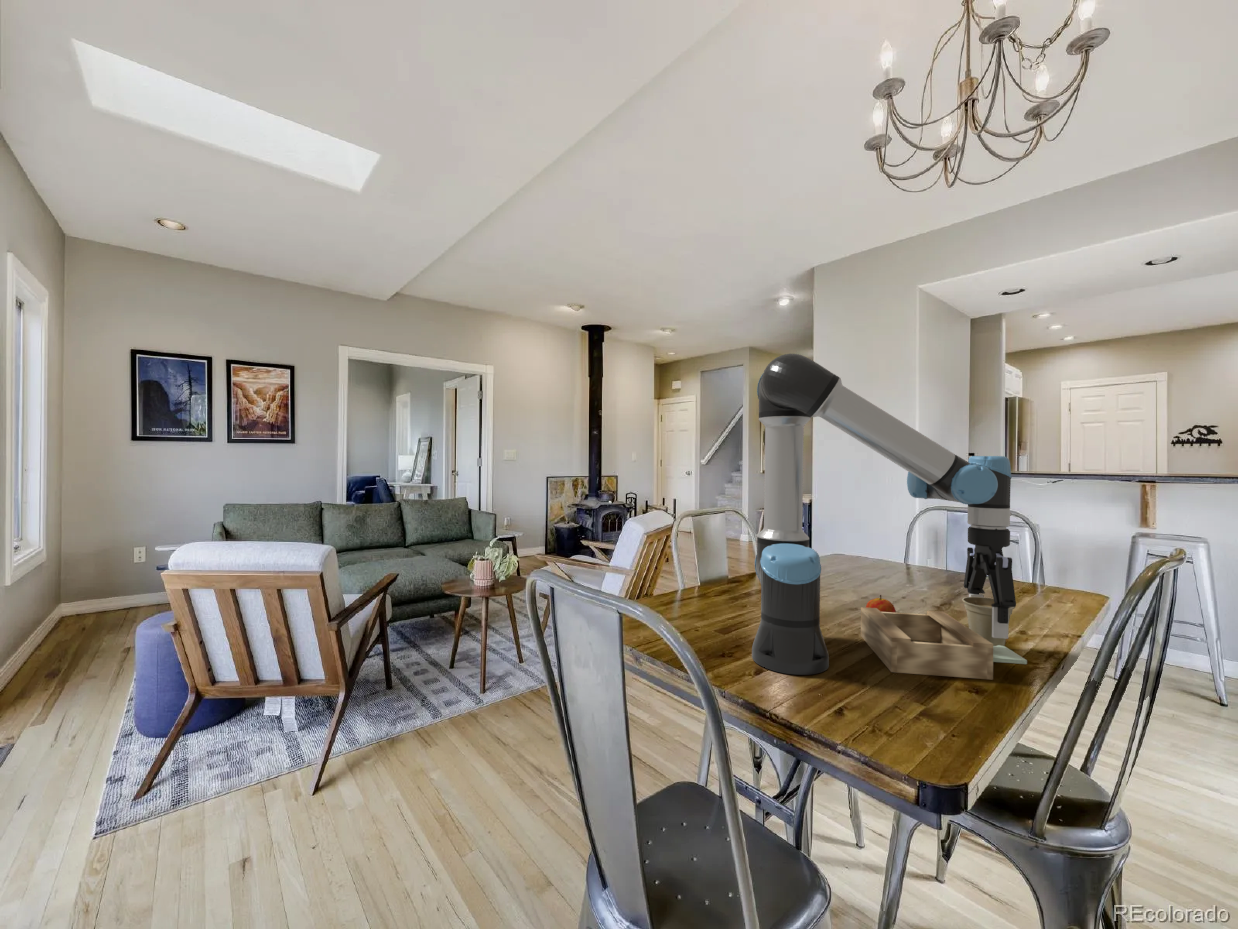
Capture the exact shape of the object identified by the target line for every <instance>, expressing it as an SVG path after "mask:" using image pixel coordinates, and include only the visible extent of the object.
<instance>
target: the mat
mask: <svg viewBox="0 0 1238 929" xmlns="http://www.w3.org/2000/svg"><path fill="white" fill-rule="evenodd" d="M993 663H1005V664H1018V665H1019V664H1020V665H1027V664H1028V660H1027V659H1025V657H1022V656H1021V655H1019V654H1018V653H1016V652H1015V651H1013V650H1012V649H1010V648H1008V647H1007V646H1005V645H1003V646H1001V645H997V646H993Z"/></svg>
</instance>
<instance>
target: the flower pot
mask: <svg viewBox="0 0 1238 929" xmlns="http://www.w3.org/2000/svg"><path fill="white" fill-rule="evenodd" d="M961 601H962V602H963V604H964V608H965V610H966V618H967V624H968V628H969V629H971V630H972V631H974V632H975V633H977V634H979V635H980V636H982V637H983V638H985V639H986V640H988V641H989V642H991V643H992V644H993V646H997V645H1001V646H1003V645H1004V646H1005V645H1006V641H1007V639H1004V638H993V637H992V606H991V604H993V603H994V599H993V597H992V598H991V597H985V596H984V597H969V596H966V597H962V598H961ZM1015 608H1016V607H1010V608H1009V621H1010V619H1011V615H1012V614H1013V611H1014V609H1015ZM1009 625H1010V622H1009V623H1008V626H1009Z"/></svg>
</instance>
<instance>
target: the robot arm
mask: <svg viewBox="0 0 1238 929" xmlns="http://www.w3.org/2000/svg"><path fill="white" fill-rule="evenodd" d="M841 378H842V377H839V376H838V375H837V374H835V373H833V372H831V371H830V370H828V369H827V368H825V367H824V366H822V365H821V364H819V363H817V362H816V361H814V360H812V359H811V358H809V357H807V356H804V355H803V354H799V353H785V354H781V355H779V356H777V357H775V358H774V359H772V360H771V361H770V362H769V363H768V364H767V366H766V367H765V369H764V371H763V373H762V374H761V376H760V378H759V379H758V382H757V388H756V392H757V393H756V394H757V399H758V421H759V422H760V423H761V424H762V425H763V426H764V484H763V486H764V492H763V495H764V497H763V498H764V499H763V500H764V501H763V503H764V504H763V506H764V507H763V513H764V514H763V529H762V530H760V532H758V533H757V535H756V537H757V538H756V554H755V559H754V570H755V574H756V576H757V578H758V580H759V583H760V593H761V594H760V622H759V625H758V629H757V631H756V634H755V637H754V640H753V643H752V647H751V659H752V660H753V661H754V663H756V664H757V665H759V667H760V666H761V667H763V668H764V667H765V669H767V670H771V671H772V672H777V673H780V674H782V673H783V674H787V675H796V676H797V675H799V676H809V675H816V674H820V673H823V672H825V671H827V670H828V669H829V667H830V665H829V664H830V661H829V660H830V655H829V651H828V648H827V645H826V643H825V639H824V636H823V632H822V630H821V626H820V622H821V616H820V615H821V573H822V564H821V558H820V554H819V553H818V552H817V551H816V550H814V549H813V548H811V547H810V537H809V536H808V534H807V533H806V532H805V531H804V530H803V513H804V512H803V508H804V507H803V506H804V504H803V502H804V500H803V499H804V498H803V496H804V439H805V438H804V433H805V432H804V429H805V428H804V427H805V426H806V424H808V422H810V421H811V418H813V419H814V418H817V417H819V418H822V419H823V420H824V421H826V422H828V423H829V424H831V425H833V426H834V427H836V428H838V430H841V431H842V432H844V433H845V434H847V435H849V436H850V437H852V438H854V439H855V440H856V441H858V442H860V443H862V444H864V445H865V446H866V447H868V448H870V449H871V450H873V451H875V452H876V453H878V454H880V455H881V456H883V457H884V458H885V459H887V460H889V461H891V462H892V463H894V464H896V465H897V466H898V467H900V468H902V469H904V470H905V471H907V477H906V485H907V490H908V493H909V495H910V496H911V497H912V498H914V499H924V500H929V499H930V500H931V499H934V500H935V499H936V500H943V501H948V502H956V503H960V504H963V505H967V524H968V525H970V526H969V527H967V543H969V544H970V545H973V546H974V547H969V546H968V547H967V549H966V554H967V557H966V566H965V571H964V572H965V573H964V582H963V588H964V589H967V593H968V597H985V595H984V594H986V592H985V590H984V589H983V588H984V586H985V583H986V580H987V576H988V580H989V581H988V582H989V585H990V589H991V593H992V599H994V603H993V604H991V606H992V637H993V638H1004V639H1006V640H1008V639H1009V625H1008V623H1009V624H1010V620H1009V608H1010V607H1015V608H1016V606H1017V601H1016V594H1015V593H1016V592H1015V585H1014V577H1013V570H1012V569H1013V558H1012V557H1006V556H1004V554H1003V548H1007V547H1009V546H1010V545H1011V530H1010V529H1009V527H1010V526H1011V516H1012V512H1011V482H1012V481H1011V480H1012V470H1011V469H1012V468H1011V461H1010V458H1009V457H1008V456H1004V455H999V456H998V455H972V456H970V457H969V458H968V459H967V460H968V461H967V460H965V459H964V458H962V457H961V456H959V455H957V454H955V453H954V452H952V451H950V450H949V449H947V448H945V446H942V445H940V444H939V443H937V442H936V441H934V440H932V439H931V438H929V437H927V436H925V435H924V434H922V433H921V432H919V431H918V430H916V429H914V428H913V427H911V426H909V425H908V424H906V423H905V422H903V421H902V420H900V419H898V418H896V417H895V416H894V415H891V414H889V413H888V412H886V411H885V410H884V409H882V408H880V407H879V406H877V405H876V404H874V403H872V402H870V401H868V400H867V399H866V398H864V397H862V396H861V395H859V394H857V393H856V392H854V391H853V390H851V389H850V388H847V387H846V386H844V385H843V382H842V379H841Z"/></svg>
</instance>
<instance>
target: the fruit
mask: <svg viewBox="0 0 1238 929" xmlns="http://www.w3.org/2000/svg"><path fill="white" fill-rule="evenodd" d="M865 608H877V609H878V610H879V611H880V612H895V613H897V611H896V610H897V609H896V607H895V605H894V604H893V603H892V602H891V601H890V600H888V599H886V598H882V594H880V595H879V597H876V598H872V599H871V600H869V601H867V603H866V605H865Z"/></svg>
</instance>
